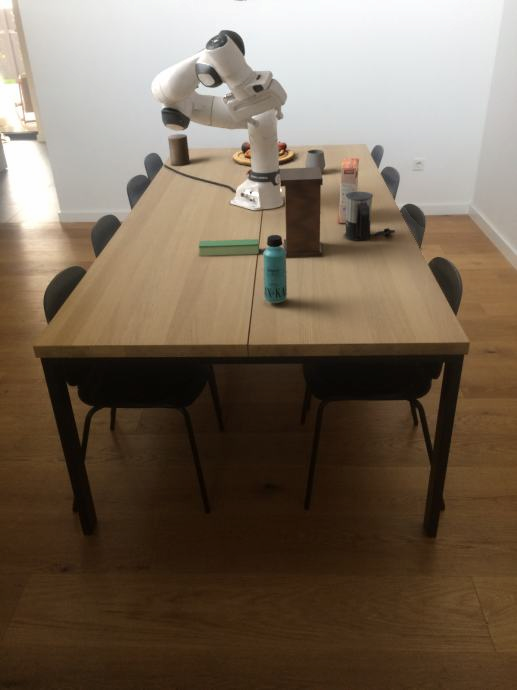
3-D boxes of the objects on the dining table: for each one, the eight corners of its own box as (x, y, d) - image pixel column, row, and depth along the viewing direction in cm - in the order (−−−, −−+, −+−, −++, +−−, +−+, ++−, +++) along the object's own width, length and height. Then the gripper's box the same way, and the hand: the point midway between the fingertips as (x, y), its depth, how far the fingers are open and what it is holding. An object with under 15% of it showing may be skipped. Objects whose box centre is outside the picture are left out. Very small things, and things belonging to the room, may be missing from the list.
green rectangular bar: (199, 256, 196) (198, 246, 194) (201, 250, 200) (200, 240, 198) (258, 254, 195) (258, 244, 193) (258, 248, 199) (258, 238, 197)
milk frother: (339, 234, 207) (340, 193, 199) (376, 226, 212) (379, 186, 204) (360, 247, 196) (363, 205, 188) (399, 239, 201) (403, 197, 193)
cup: (328, 171, 275) (329, 150, 269) (319, 176, 268) (319, 154, 263) (311, 169, 279) (311, 148, 274) (301, 174, 273) (301, 152, 267)
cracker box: (354, 224, 215) (357, 167, 203) (338, 223, 216) (340, 167, 205) (356, 211, 226) (359, 157, 215) (341, 211, 227) (343, 157, 216)
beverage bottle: (263, 298, 168) (260, 233, 157) (286, 296, 168) (284, 231, 157) (265, 308, 162) (262, 242, 151) (289, 307, 162) (288, 240, 152)
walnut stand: (282, 258, 191) (280, 180, 177) (281, 243, 202) (279, 168, 188) (322, 257, 191) (323, 178, 177) (319, 242, 202) (320, 167, 188)
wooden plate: (274, 170, 281) (273, 152, 277) (220, 163, 296) (219, 146, 291) (305, 154, 304) (305, 138, 299) (253, 148, 318) (253, 133, 314)
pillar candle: (188, 165, 295) (185, 135, 287) (169, 166, 295) (166, 135, 287) (190, 160, 303) (187, 130, 295) (172, 161, 304) (168, 131, 296)
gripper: (217, 103, 181) (241, 137, 190) (268, 82, 169) (292, 120, 178) (223, 90, 184) (247, 125, 193) (275, 69, 171) (297, 106, 180)
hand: (269, 122), depth 185 cm, fingers open, 8 cm apart
